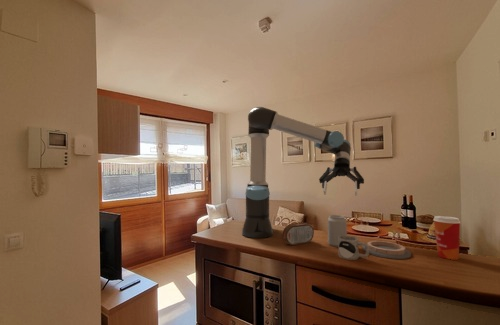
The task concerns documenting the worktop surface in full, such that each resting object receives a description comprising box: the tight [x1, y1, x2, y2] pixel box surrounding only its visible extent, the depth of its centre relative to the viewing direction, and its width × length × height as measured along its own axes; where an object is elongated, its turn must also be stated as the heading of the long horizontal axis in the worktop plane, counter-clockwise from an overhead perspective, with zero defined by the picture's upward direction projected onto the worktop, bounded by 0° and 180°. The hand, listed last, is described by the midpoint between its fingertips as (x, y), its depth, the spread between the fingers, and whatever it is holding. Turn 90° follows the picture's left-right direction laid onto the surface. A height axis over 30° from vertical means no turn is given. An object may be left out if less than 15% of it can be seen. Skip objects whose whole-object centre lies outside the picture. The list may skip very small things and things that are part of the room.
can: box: [327, 214, 348, 248], centre depth 97 cm, size 8×8×12 cm
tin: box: [282, 222, 315, 246], centre depth 99 cm, size 15×3×8 cm, turn 115°
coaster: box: [361, 240, 412, 260], centre depth 89 cm, size 16×16×2 cm
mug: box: [337, 235, 370, 261], centre depth 83 cm, size 10×7×7 cm, turn 56°
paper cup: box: [432, 215, 462, 261], centre depth 83 cm, size 8×8×14 cm
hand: (339, 193), depth 108 cm, fingers open, 13 cm apart
